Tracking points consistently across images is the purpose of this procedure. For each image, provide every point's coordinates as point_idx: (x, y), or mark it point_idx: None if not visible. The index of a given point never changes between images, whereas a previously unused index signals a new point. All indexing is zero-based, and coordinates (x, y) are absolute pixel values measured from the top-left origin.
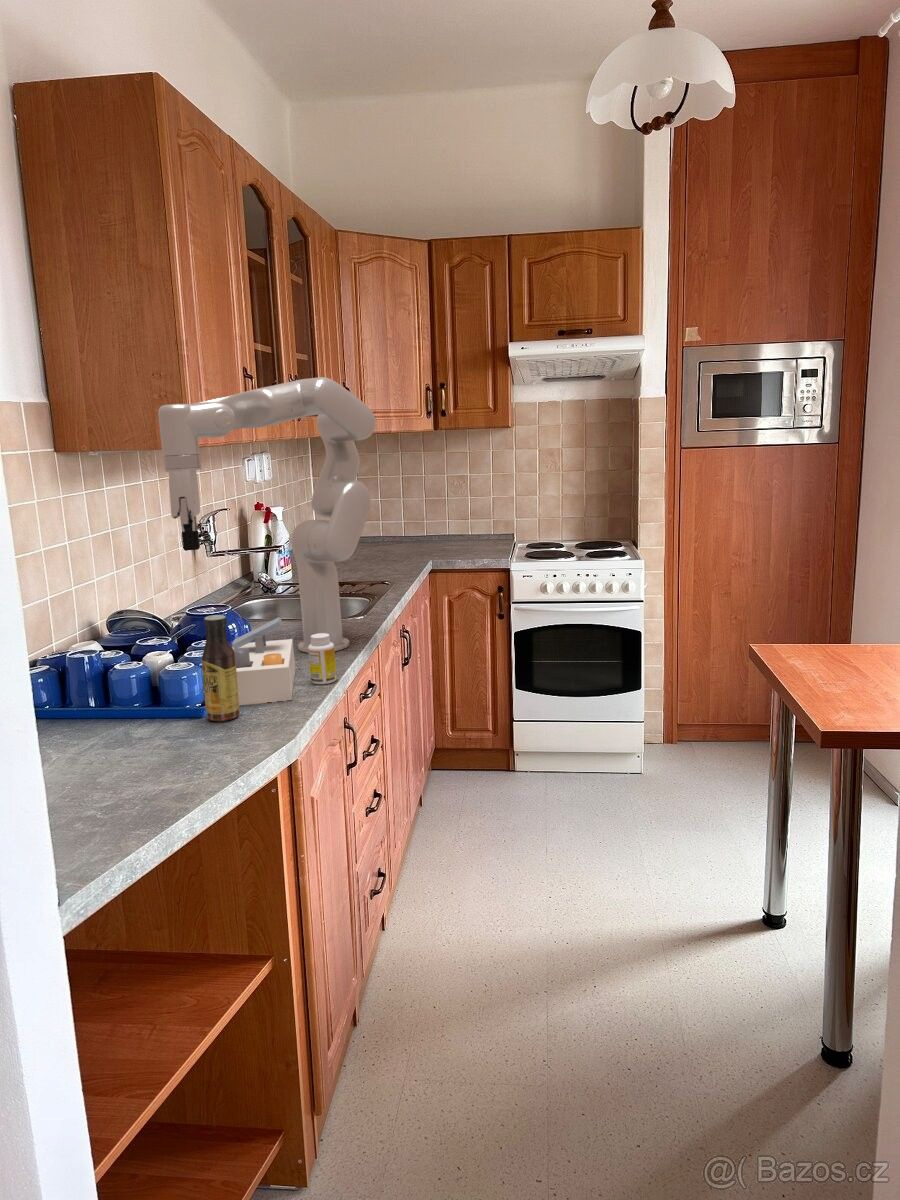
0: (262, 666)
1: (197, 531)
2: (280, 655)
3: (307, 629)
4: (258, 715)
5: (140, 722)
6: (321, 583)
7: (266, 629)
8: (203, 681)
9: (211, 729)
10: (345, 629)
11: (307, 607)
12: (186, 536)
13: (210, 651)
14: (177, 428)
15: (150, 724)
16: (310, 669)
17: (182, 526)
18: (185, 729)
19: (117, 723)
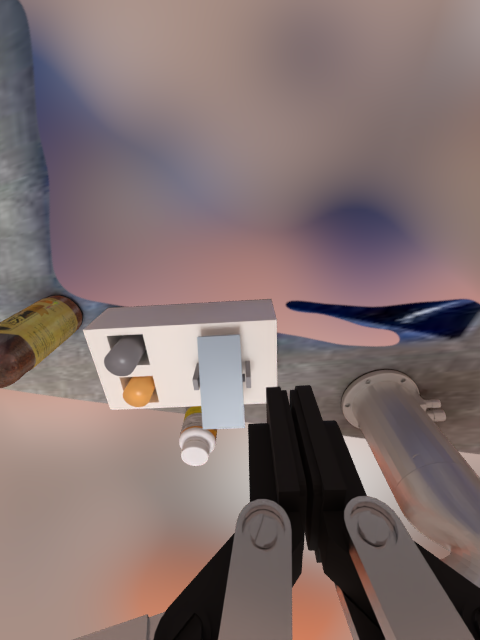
0: (116, 379)
1: (315, 552)
2: (135, 406)
3: (376, 407)
4: (74, 350)
5: (35, 195)
6: (400, 503)
7: (201, 403)
8: (9, 317)
9: (18, 305)
10: (474, 419)
11: (390, 440)
12: (251, 482)
13: None
14: None
15: (27, 215)
16: (193, 408)
17: (228, 574)
18: (13, 272)
19: (26, 154)
